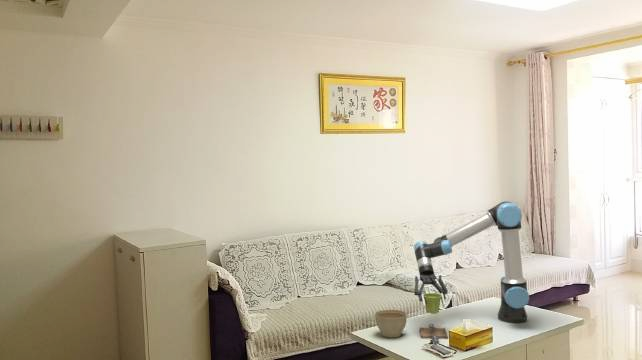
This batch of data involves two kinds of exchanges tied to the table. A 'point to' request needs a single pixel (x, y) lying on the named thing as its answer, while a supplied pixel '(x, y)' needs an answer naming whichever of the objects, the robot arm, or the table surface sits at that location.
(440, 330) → the pad
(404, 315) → the planter bowl
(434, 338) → the chain ends
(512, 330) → the table surface
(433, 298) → the plant pot
